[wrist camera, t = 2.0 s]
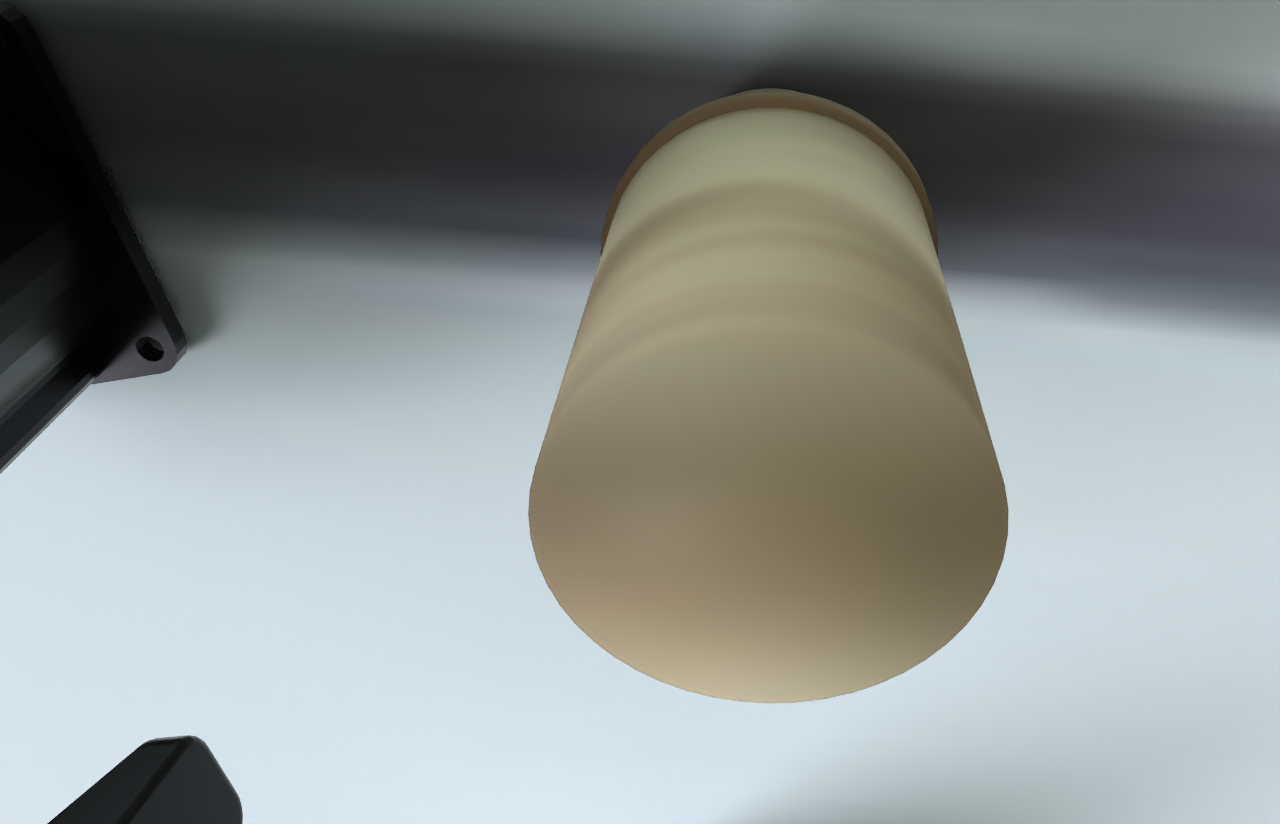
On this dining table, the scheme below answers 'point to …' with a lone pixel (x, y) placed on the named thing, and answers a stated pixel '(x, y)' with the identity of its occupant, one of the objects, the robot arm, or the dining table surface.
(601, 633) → the peg
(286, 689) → the dining table surface
